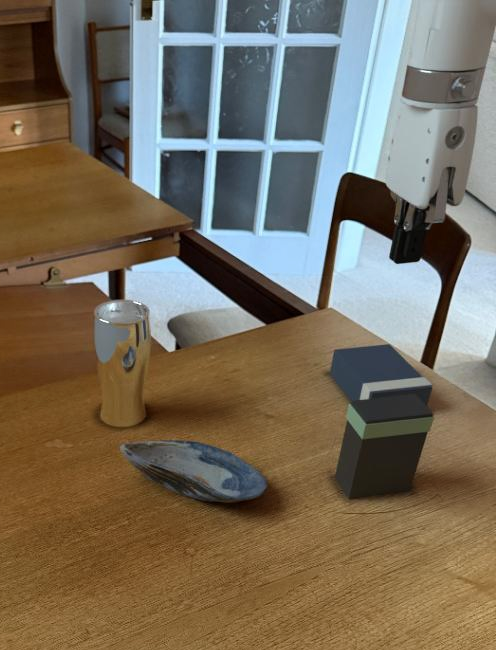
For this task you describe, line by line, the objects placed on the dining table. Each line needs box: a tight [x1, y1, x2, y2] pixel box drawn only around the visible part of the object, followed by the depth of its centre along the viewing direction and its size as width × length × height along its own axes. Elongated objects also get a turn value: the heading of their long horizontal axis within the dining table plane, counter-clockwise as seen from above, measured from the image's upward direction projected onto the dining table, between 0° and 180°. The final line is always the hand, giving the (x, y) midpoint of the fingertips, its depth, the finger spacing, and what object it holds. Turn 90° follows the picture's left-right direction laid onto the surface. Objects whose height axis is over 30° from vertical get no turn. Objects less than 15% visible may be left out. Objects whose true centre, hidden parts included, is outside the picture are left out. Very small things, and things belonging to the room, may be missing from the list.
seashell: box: [119, 439, 268, 503], centre depth 83 cm, size 15×12×5 cm
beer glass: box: [92, 299, 152, 428], centre depth 92 cm, size 7×7×15 cm
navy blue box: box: [329, 343, 433, 407], centre depth 98 cm, size 8×5×12 cm
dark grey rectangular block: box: [334, 394, 435, 500], centre depth 81 cm, size 8×4×11 cm, turn 99°
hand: (404, 260), depth 88 cm, fingers closed
